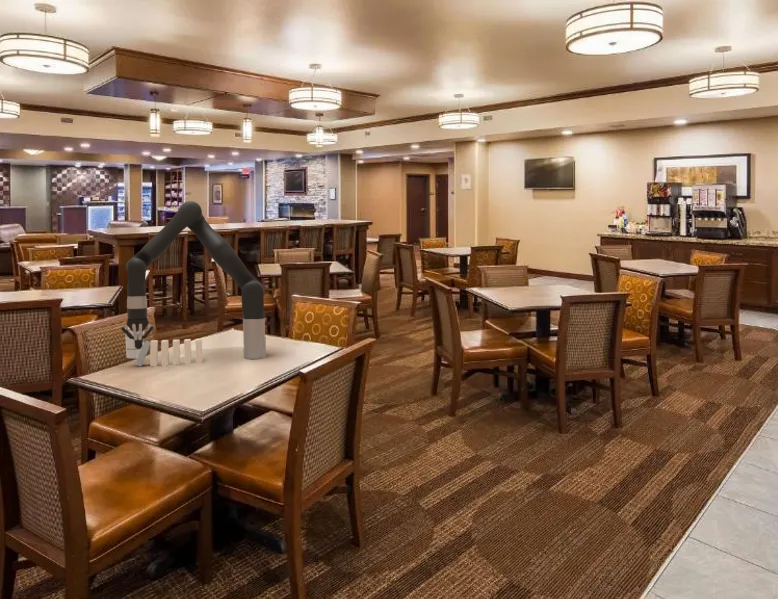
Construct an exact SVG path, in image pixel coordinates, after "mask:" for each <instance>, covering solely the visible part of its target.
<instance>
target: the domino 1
mask: <svg viewBox="0 0 778 599" xmlns="http://www.w3.org/2000/svg"><path fill="white" fill-rule="evenodd" d="M150 342H151V341H148V340H145V342H144V344H143V347H142V349H141V352H140V354H139V356H138V359H136V362H135V364H134V365H135V366H137V367H140V368H141V367H142V366H143V364H144V362H145V361H146V360H145V359H146V357H147V355H148V353H149V350H150Z"/></svg>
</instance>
